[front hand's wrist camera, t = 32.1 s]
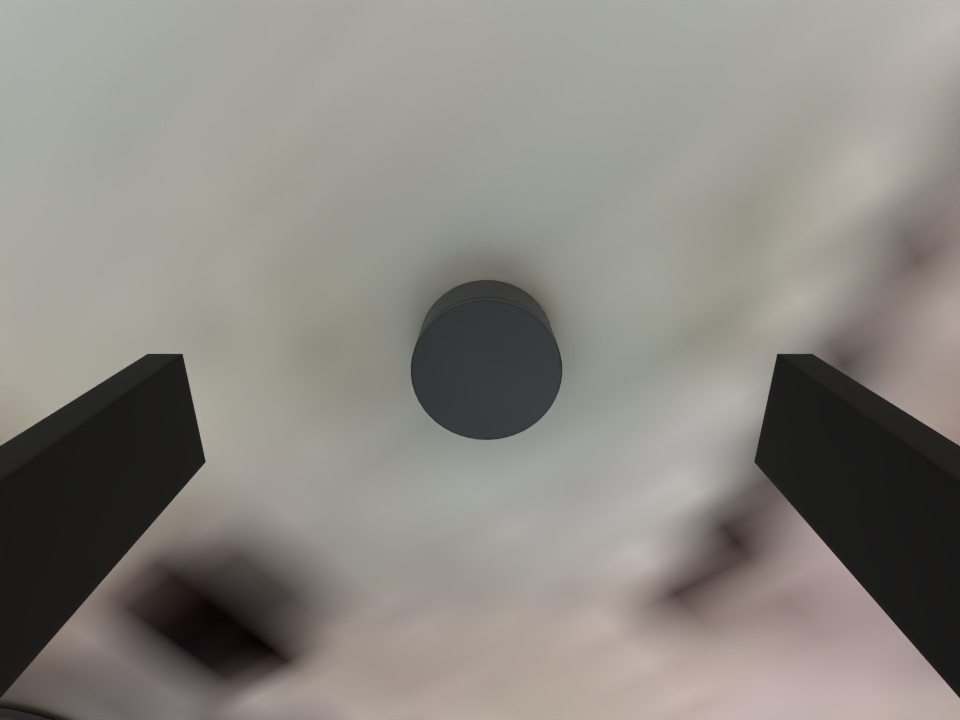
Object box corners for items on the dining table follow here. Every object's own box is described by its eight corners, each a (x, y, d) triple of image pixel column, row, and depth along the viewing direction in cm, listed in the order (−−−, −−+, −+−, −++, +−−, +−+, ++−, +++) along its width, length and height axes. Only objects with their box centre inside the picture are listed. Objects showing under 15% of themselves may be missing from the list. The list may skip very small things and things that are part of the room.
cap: (578, 353, 16) (592, 384, 14) (476, 426, 17) (475, 465, 15) (496, 251, 15) (499, 268, 13) (392, 335, 16) (379, 363, 14)
